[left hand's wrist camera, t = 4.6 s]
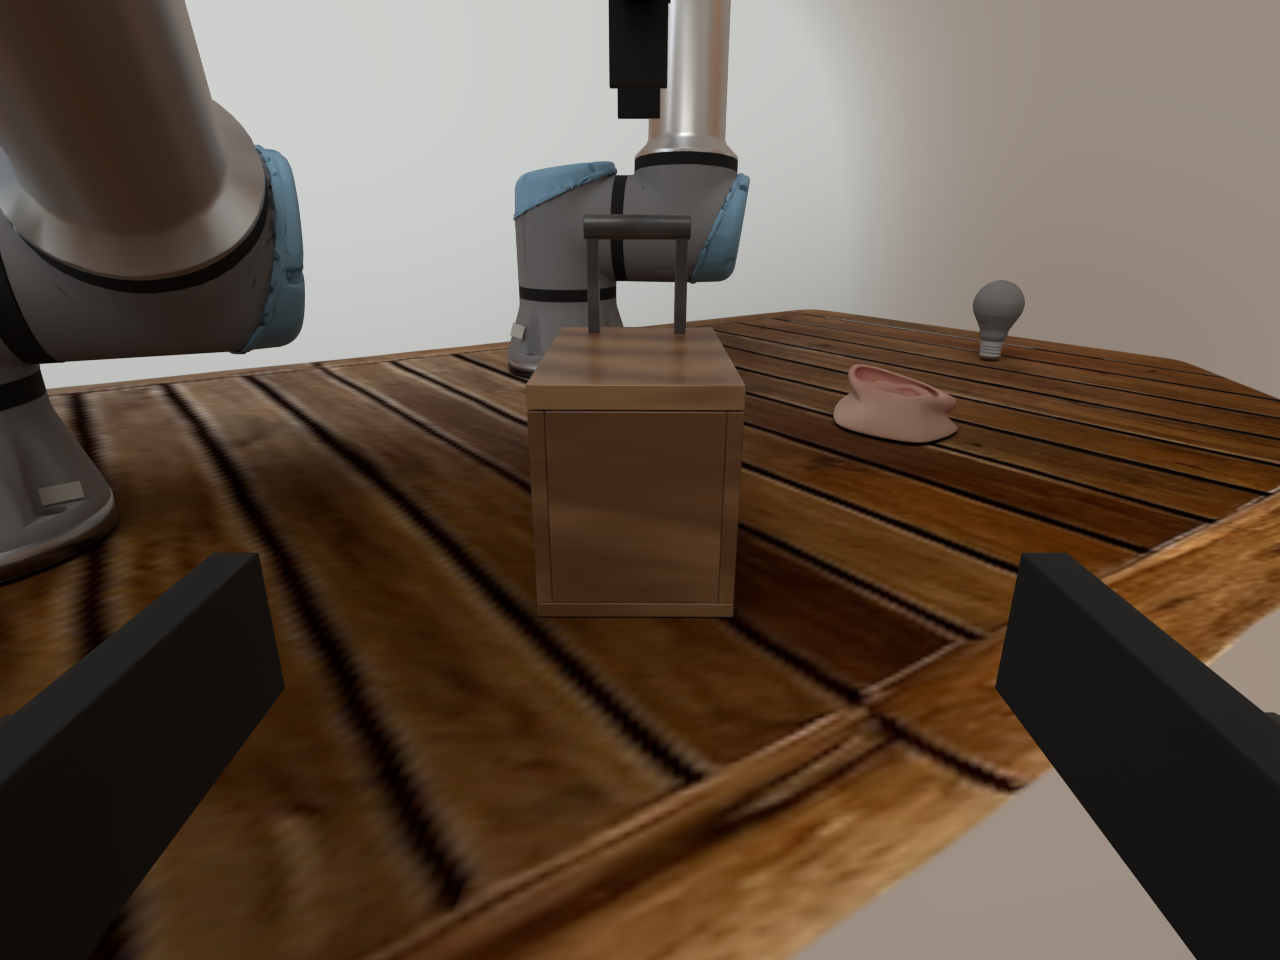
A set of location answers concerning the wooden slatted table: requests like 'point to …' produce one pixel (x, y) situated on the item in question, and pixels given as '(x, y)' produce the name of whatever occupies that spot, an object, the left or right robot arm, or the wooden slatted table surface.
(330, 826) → the wooden slatted table surface
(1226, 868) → the left robot arm
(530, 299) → the right robot arm
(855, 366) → the anatomical model
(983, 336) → the light bulb
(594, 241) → the lid
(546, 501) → the chest
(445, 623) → the wooden slatted table surface
